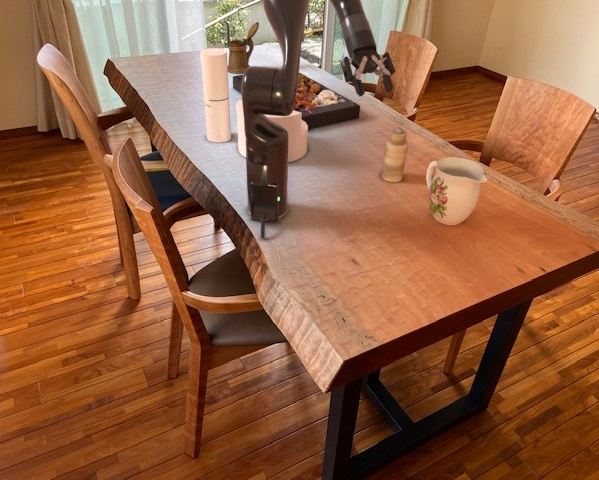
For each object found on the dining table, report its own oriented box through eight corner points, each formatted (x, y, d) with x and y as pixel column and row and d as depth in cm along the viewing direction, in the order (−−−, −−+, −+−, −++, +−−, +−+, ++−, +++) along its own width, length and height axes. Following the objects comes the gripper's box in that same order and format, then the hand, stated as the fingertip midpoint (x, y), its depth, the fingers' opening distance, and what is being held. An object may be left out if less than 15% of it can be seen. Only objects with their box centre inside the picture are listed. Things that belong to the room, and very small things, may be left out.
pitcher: (440, 193, 127) (452, 143, 119) (489, 230, 113) (505, 177, 105) (404, 201, 123) (413, 150, 115) (450, 240, 110) (464, 186, 102)
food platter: (359, 118, 165) (362, 87, 159) (296, 132, 154) (296, 100, 148) (289, 78, 196) (290, 51, 189) (233, 88, 185) (231, 59, 179)
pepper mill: (402, 182, 130) (411, 133, 122) (381, 181, 131) (388, 131, 122) (401, 172, 135) (410, 124, 126) (380, 171, 135) (388, 122, 127)
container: (320, 146, 146) (323, 102, 138) (277, 170, 133) (277, 123, 125) (269, 128, 156) (268, 86, 148) (223, 149, 143) (221, 104, 135)
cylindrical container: (226, 143, 146) (221, 56, 131) (203, 140, 147) (196, 54, 132) (234, 134, 152) (230, 49, 137) (211, 131, 153) (205, 47, 138)
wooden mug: (263, 71, 202) (262, 24, 191) (230, 74, 197) (228, 26, 187) (256, 65, 208) (255, 19, 198) (224, 67, 204) (222, 21, 193)
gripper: (340, 30, 125) (359, 89, 124) (387, 26, 131) (406, 83, 129) (329, 46, 132) (346, 103, 131) (374, 42, 138) (391, 96, 136)
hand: (376, 93), depth 130 cm, fingers open, 8 cm apart
